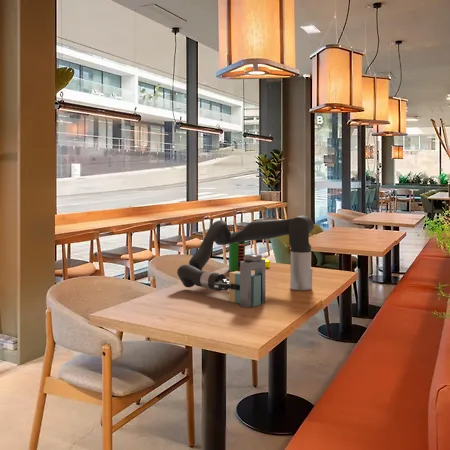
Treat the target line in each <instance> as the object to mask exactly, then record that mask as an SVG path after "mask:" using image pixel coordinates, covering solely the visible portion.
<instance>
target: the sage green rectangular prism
mask: <svg viewBox="0 0 450 450" xmlns="http://www.w3.org/2000/svg"><path fill="white" fill-rule="evenodd" d="M228 275H229V277H228V278H229V283H232V284H237V285H240V271H235V272H233V271H230V272H229V274H228ZM228 290H229V289H228ZM228 294H229V296H228V297H229V298H228V300H229V302H231V303H236V304H240V290H233V289H232V290H229V292H228ZM257 306H261V275H257V274H255V273H251V307H253V308H254V307H257Z"/></svg>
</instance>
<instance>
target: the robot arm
mask: <svg viewBox="0 0 450 450" xmlns="http://www.w3.org/2000/svg"><path fill="white" fill-rule="evenodd" d="M314 227H315V223H314V221H313V219H312V218H311V217H309V216H307V215H298V216H295V217H292V218H286V219H284V218H283V219H260V220H253V221H250V222H249V223H247V225H246V226H244V227H243V228H242V229H241V230H239V231H234V232H232V231H231V230H230V228H229V226H228V224H227V222H226V221H225V220H222V219H221V220H217V221H214V222H213V223H212V224H211V225H210V226H209V228H208V229H207V232H206V233H205V235H204V238H203V240H202V241H201V244H200V246H199V248H197V250H196V252H194V254H193V255H192V257H191V258H190V259H189V261H188V264H182V265H180V266H179V267H178V268H177V270H176V274H177V276H178V278H179V279H180V281H181V284H182V286H184V287H185V288H193V287H195V286H197V287H199V288H200V287H201V288H205V289H207V290H212V291H217V292H222V291H228V290H232V289H233V290H240V285H237V284H232V283H229V277H227V276H226V275H225V274H223V273H222V272H221V273H220V272H215V271H214V272H213V271H206V270H205V271H204V270H203V269H204V267H205V265H207V263H208V262H209V260H210V259H211V255H212V252H213V251H212V250H213V246H214V243H215V244H216V245H218V246H225V245H229V244H231V243H236V242H242V241H245V242H250V241H263V240H269V239H274V238H278V237H282V236H288V243H289V248H290V268H289V269H290V273H289V274H290V275H289V276H290V283H289V284H290V285H289V288H290V289H291V290H295V291H308V290H313V268H312V246H311V244H310V236H309V234H311V233H312V232H313V230H314Z"/></svg>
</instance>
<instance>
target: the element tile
mask: <svg viewBox="0 0 450 450" xmlns="http://www.w3.org/2000/svg"><path fill="white" fill-rule="evenodd" d="M262 259H265V269H271V260H269V259H267V258H265V257H262Z"/></svg>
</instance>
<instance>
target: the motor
mask: <svg viewBox="0 0 450 450" xmlns="http://www.w3.org/2000/svg"><path fill="white" fill-rule="evenodd" d="M244 255H246V241H242V242H236V243H231V244H228V271H230V272H233V271H234V272H235V271H239V272H240V262H242V261H244Z"/></svg>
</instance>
